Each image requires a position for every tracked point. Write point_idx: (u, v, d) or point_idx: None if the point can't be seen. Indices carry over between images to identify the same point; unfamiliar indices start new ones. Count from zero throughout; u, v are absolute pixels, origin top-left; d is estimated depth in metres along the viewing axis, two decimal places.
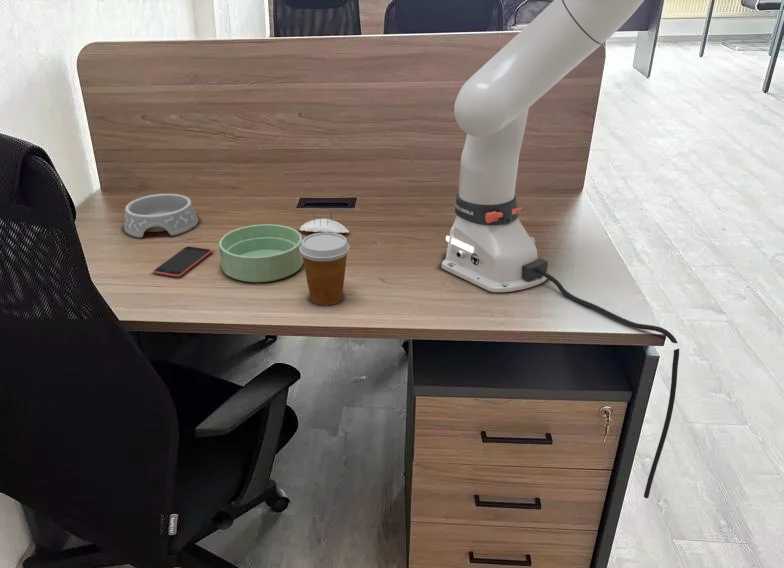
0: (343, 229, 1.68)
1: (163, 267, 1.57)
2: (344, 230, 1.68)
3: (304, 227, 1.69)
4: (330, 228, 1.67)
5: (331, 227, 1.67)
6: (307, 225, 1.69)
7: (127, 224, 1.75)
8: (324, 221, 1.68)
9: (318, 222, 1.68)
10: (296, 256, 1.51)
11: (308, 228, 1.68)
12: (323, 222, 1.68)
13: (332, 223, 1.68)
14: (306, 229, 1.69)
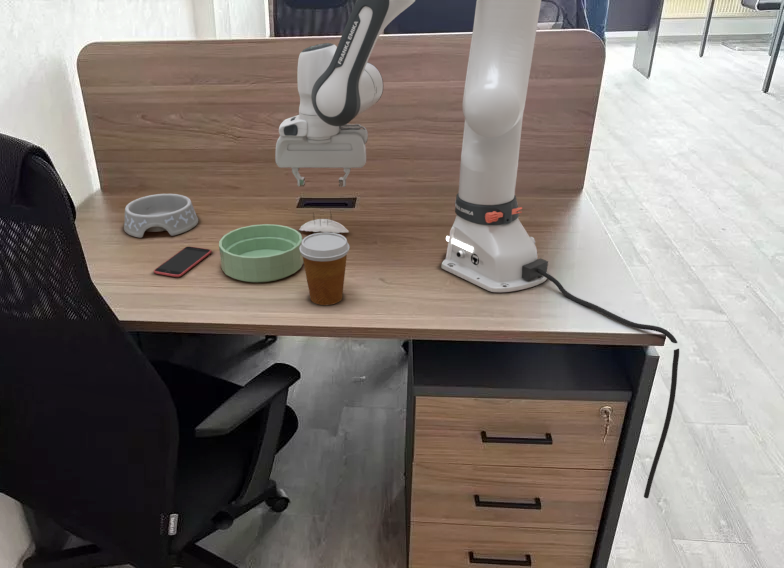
0: (343, 229, 1.68)
1: (163, 267, 1.57)
2: (344, 230, 1.68)
3: (304, 227, 1.69)
4: (330, 228, 1.67)
5: (331, 227, 1.67)
6: (307, 225, 1.69)
7: (127, 224, 1.75)
8: (324, 221, 1.68)
9: (318, 222, 1.68)
10: (296, 256, 1.51)
11: (308, 228, 1.68)
12: (323, 222, 1.68)
13: (332, 223, 1.68)
14: (306, 229, 1.69)
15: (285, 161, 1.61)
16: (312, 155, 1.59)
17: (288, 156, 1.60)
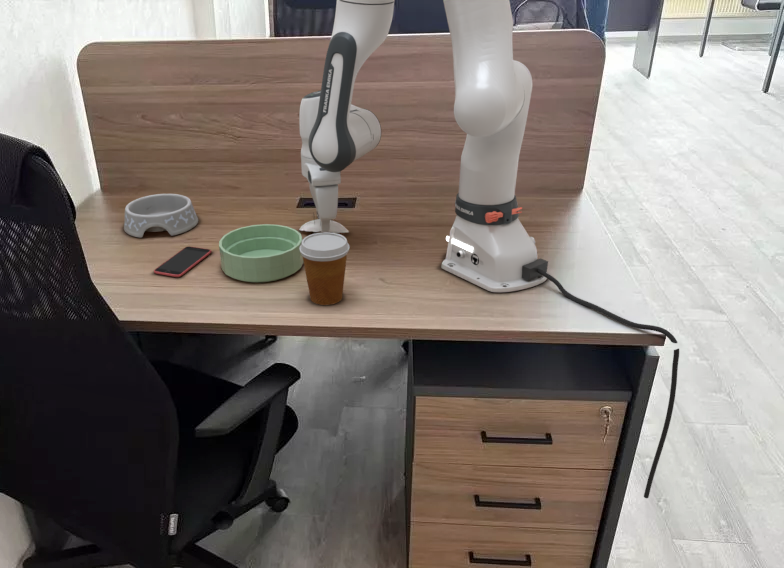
0: (343, 229, 1.68)
1: (163, 267, 1.57)
2: (344, 230, 1.68)
3: (304, 227, 1.69)
4: (330, 228, 1.67)
5: (331, 227, 1.67)
6: (307, 225, 1.69)
7: (127, 224, 1.75)
8: None
9: (318, 222, 1.68)
10: (296, 256, 1.51)
11: (308, 228, 1.68)
12: None
13: (332, 223, 1.68)
14: (306, 229, 1.69)
15: None
16: None
17: None
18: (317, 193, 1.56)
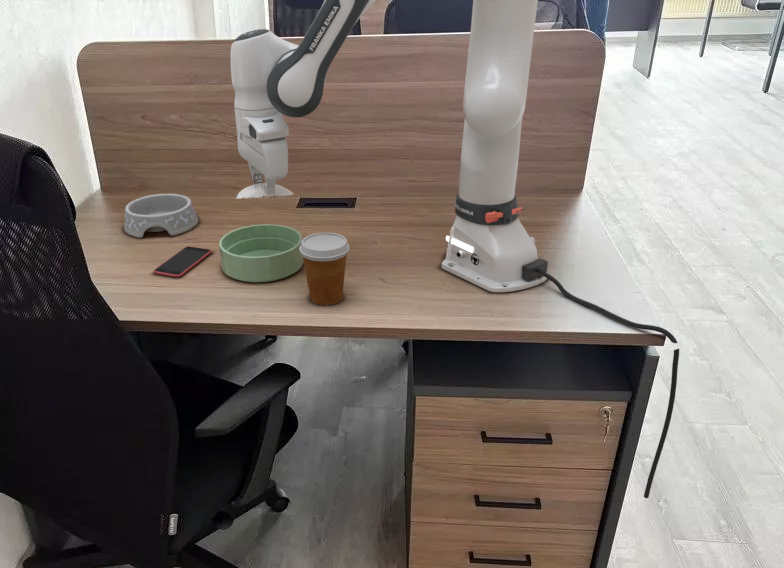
0: (288, 191, 1.49)
1: (163, 267, 1.57)
2: (289, 192, 1.49)
3: (243, 194, 1.48)
4: None
5: (275, 190, 1.48)
6: (246, 191, 1.48)
7: (127, 224, 1.75)
8: None
9: (259, 186, 1.48)
10: (296, 256, 1.51)
11: (248, 194, 1.48)
12: None
13: (275, 186, 1.48)
14: (246, 196, 1.48)
15: None
16: None
17: None
18: (265, 148, 1.36)
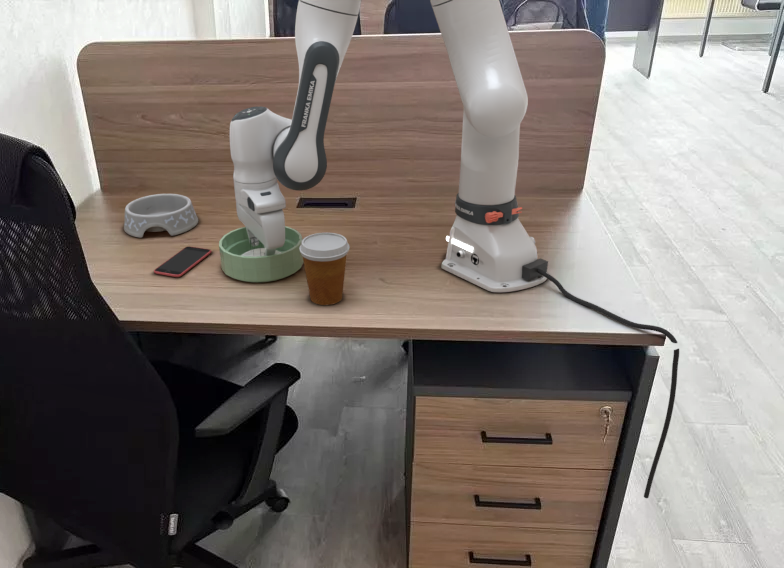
0: None
1: (163, 267, 1.57)
2: None
3: None
4: None
5: None
6: None
7: (127, 224, 1.75)
8: (263, 250, 1.54)
9: (257, 252, 1.54)
10: (296, 256, 1.51)
11: None
12: (262, 252, 1.54)
13: None
14: None
15: None
16: None
17: None
18: (263, 221, 1.41)
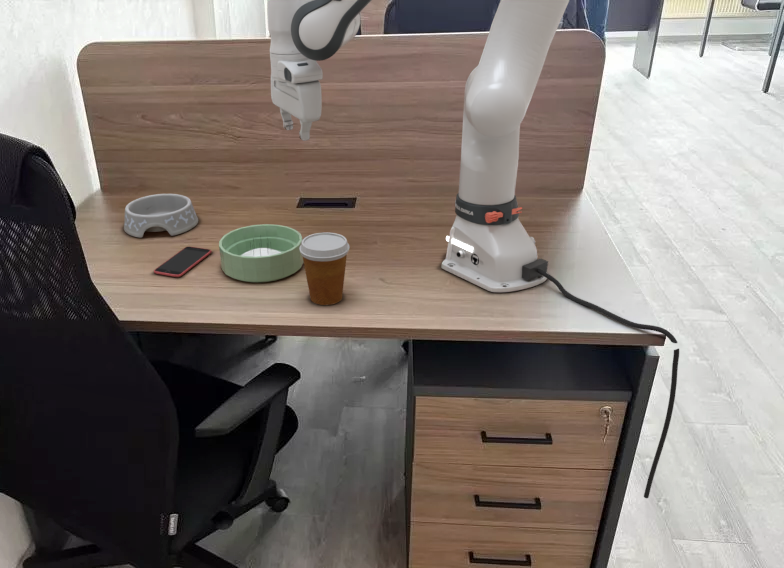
0: None
1: (163, 267, 1.57)
2: None
3: None
4: None
5: None
6: None
7: (127, 224, 1.75)
8: (263, 251, 1.54)
9: (257, 252, 1.54)
10: (296, 256, 1.51)
11: None
12: (262, 252, 1.54)
13: (272, 252, 1.54)
14: None
15: None
16: None
17: None
18: (300, 91, 1.41)
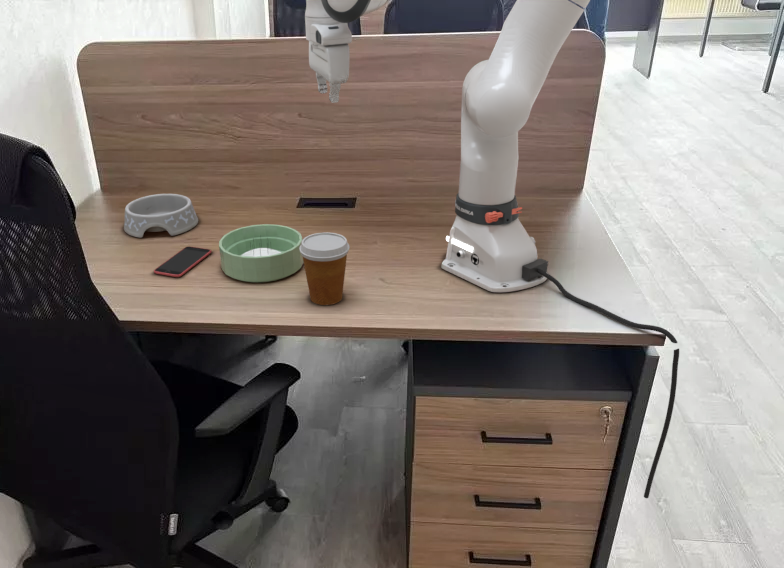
0: None
1: (163, 267, 1.57)
2: None
3: None
4: None
5: None
6: None
7: (127, 224, 1.75)
8: (263, 251, 1.54)
9: (257, 252, 1.54)
10: (296, 256, 1.51)
11: None
12: (262, 252, 1.54)
13: (272, 252, 1.54)
14: None
15: None
16: None
17: None
18: (328, 52, 1.47)
